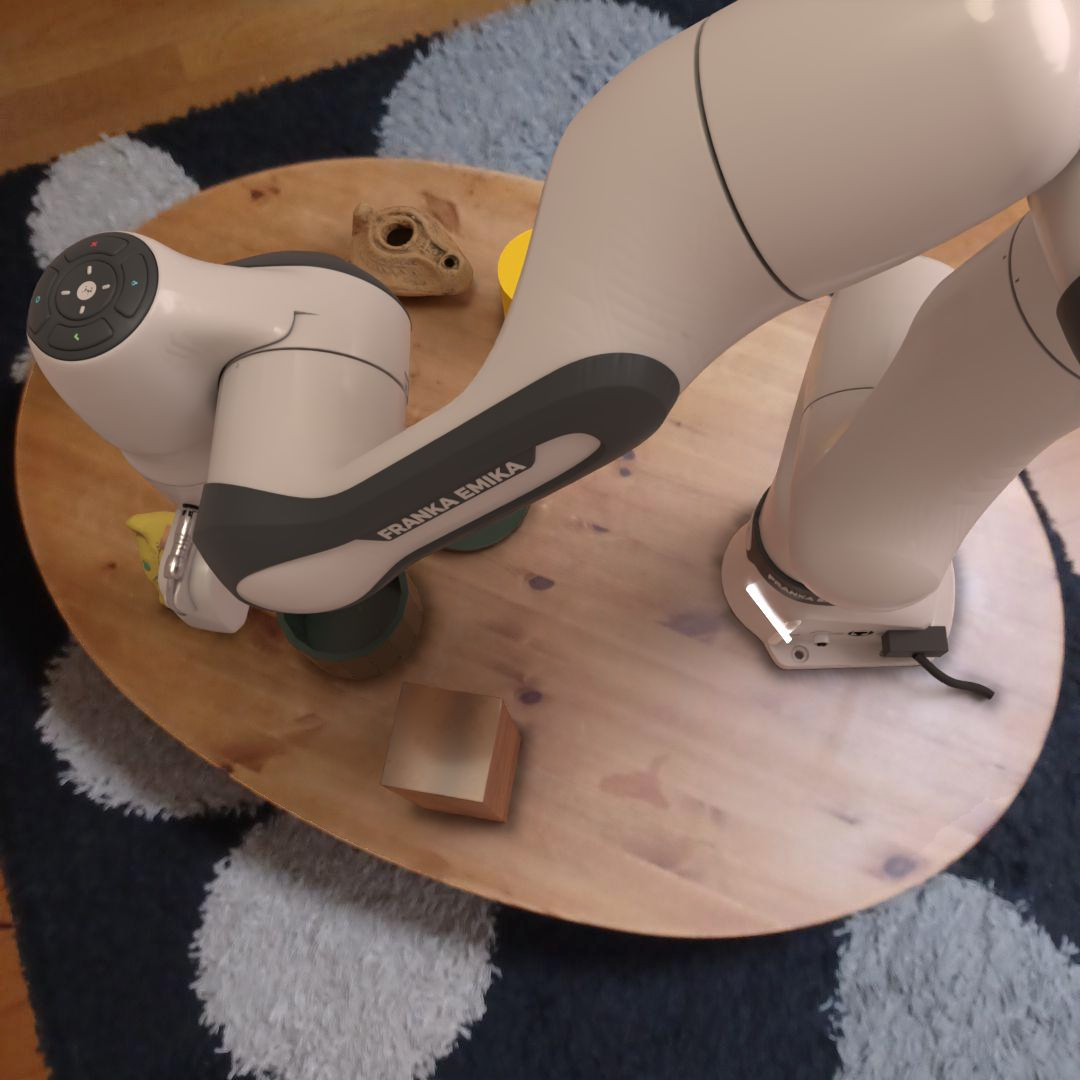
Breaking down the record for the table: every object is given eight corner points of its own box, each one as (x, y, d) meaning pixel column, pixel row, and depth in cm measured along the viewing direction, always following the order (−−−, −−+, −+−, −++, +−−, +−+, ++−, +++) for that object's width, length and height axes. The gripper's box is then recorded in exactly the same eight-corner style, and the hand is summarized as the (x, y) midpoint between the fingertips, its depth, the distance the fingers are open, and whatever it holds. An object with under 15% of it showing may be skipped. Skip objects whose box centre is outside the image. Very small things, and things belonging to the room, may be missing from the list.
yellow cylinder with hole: (566, 372, 109) (563, 325, 101) (488, 333, 112) (479, 284, 103) (612, 302, 112) (613, 251, 103) (535, 265, 114) (529, 212, 105)
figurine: (153, 604, 103) (83, 557, 89) (197, 530, 105) (135, 473, 91) (248, 647, 101) (191, 605, 87) (290, 570, 103) (242, 518, 89)
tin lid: (542, 444, 107) (539, 424, 102) (519, 562, 102) (516, 547, 98) (419, 427, 108) (411, 407, 104) (391, 543, 104) (382, 528, 99)
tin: (434, 570, 103) (420, 542, 95) (408, 689, 99) (391, 670, 91) (317, 552, 104) (293, 523, 96) (286, 669, 100) (259, 649, 92)
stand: (521, 737, 96) (502, 697, 78) (506, 822, 94) (483, 803, 75) (440, 723, 97) (402, 681, 78) (422, 808, 95) (379, 785, 76)
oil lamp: (461, 328, 112) (452, 287, 104) (339, 293, 114) (321, 250, 107) (496, 249, 115) (489, 203, 108) (376, 216, 118) (361, 169, 110)
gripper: (211, 608, 58) (282, 662, 71) (300, 303, 64) (349, 403, 77) (108, 592, 58) (196, 648, 71) (206, 291, 65) (271, 393, 78)
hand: (277, 519), depth 74 cm, fingers closed on block, 4 cm apart
